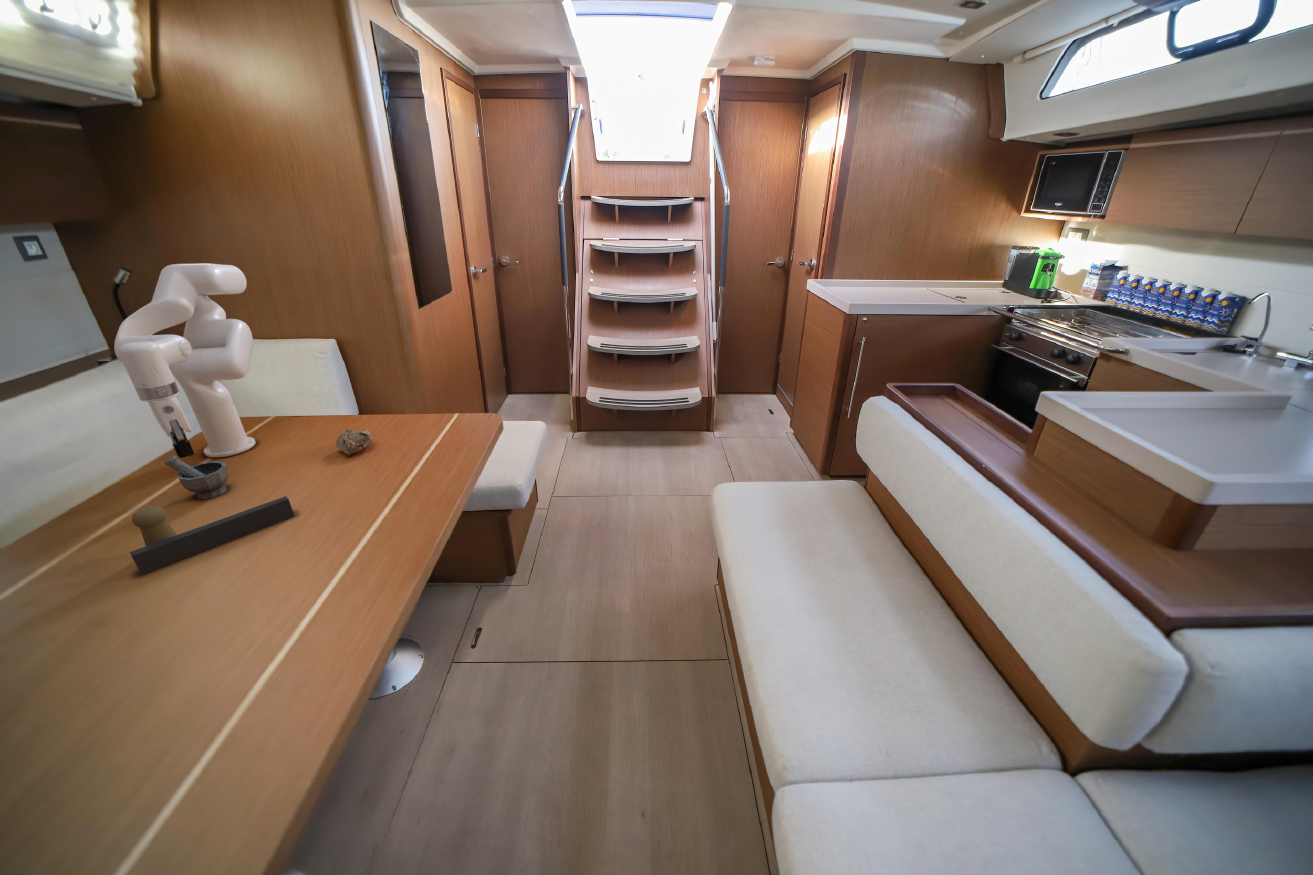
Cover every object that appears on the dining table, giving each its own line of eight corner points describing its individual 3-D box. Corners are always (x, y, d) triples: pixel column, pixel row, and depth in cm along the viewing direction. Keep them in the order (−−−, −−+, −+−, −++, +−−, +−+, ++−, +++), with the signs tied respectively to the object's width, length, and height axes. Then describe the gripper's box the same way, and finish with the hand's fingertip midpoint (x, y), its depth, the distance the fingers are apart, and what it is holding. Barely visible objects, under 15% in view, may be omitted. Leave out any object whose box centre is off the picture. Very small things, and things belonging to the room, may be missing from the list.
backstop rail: (140, 570, 105) (129, 552, 103) (292, 512, 125) (285, 495, 123) (142, 575, 104) (131, 556, 102) (294, 515, 124) (288, 498, 121)
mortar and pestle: (238, 480, 139) (222, 441, 133) (230, 496, 131) (213, 456, 126) (187, 489, 134) (168, 450, 129) (176, 507, 127) (155, 466, 121)
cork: (191, 546, 113) (171, 505, 108) (160, 562, 108) (137, 520, 103) (174, 540, 115) (153, 500, 110) (142, 556, 109) (119, 515, 105)
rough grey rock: (345, 466, 152) (374, 450, 152) (327, 450, 148) (358, 434, 148) (351, 447, 161) (379, 432, 161) (334, 431, 157) (363, 416, 157)
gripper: (183, 393, 125) (211, 458, 132) (171, 381, 133) (197, 443, 141) (143, 401, 120) (173, 469, 127) (133, 388, 128) (162, 452, 136)
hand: (186, 455), depth 134 cm, fingers closed
